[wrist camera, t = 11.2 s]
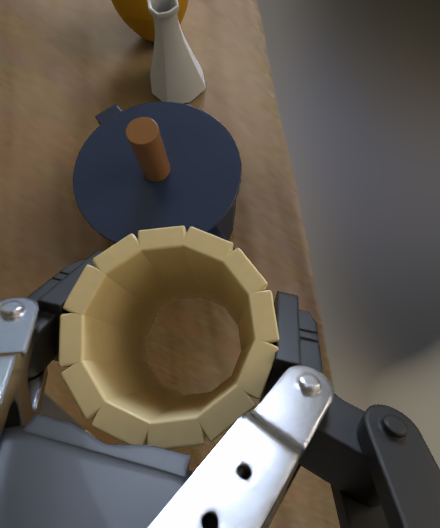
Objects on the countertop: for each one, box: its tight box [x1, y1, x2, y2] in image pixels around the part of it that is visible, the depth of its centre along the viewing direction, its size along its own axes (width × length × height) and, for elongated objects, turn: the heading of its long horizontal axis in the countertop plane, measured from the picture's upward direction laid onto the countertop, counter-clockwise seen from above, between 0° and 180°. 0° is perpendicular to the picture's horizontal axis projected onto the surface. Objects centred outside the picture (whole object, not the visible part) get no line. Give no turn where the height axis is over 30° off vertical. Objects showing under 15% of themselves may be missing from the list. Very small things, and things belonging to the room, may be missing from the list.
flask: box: [147, 0, 206, 103], centre depth 38 cm, size 7×7×10 cm
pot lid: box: [73, 102, 241, 243], centre depth 26 cm, size 15×15×6 cm
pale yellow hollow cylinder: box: [58, 226, 279, 450], centre depth 13 cm, size 6×6×8 cm
